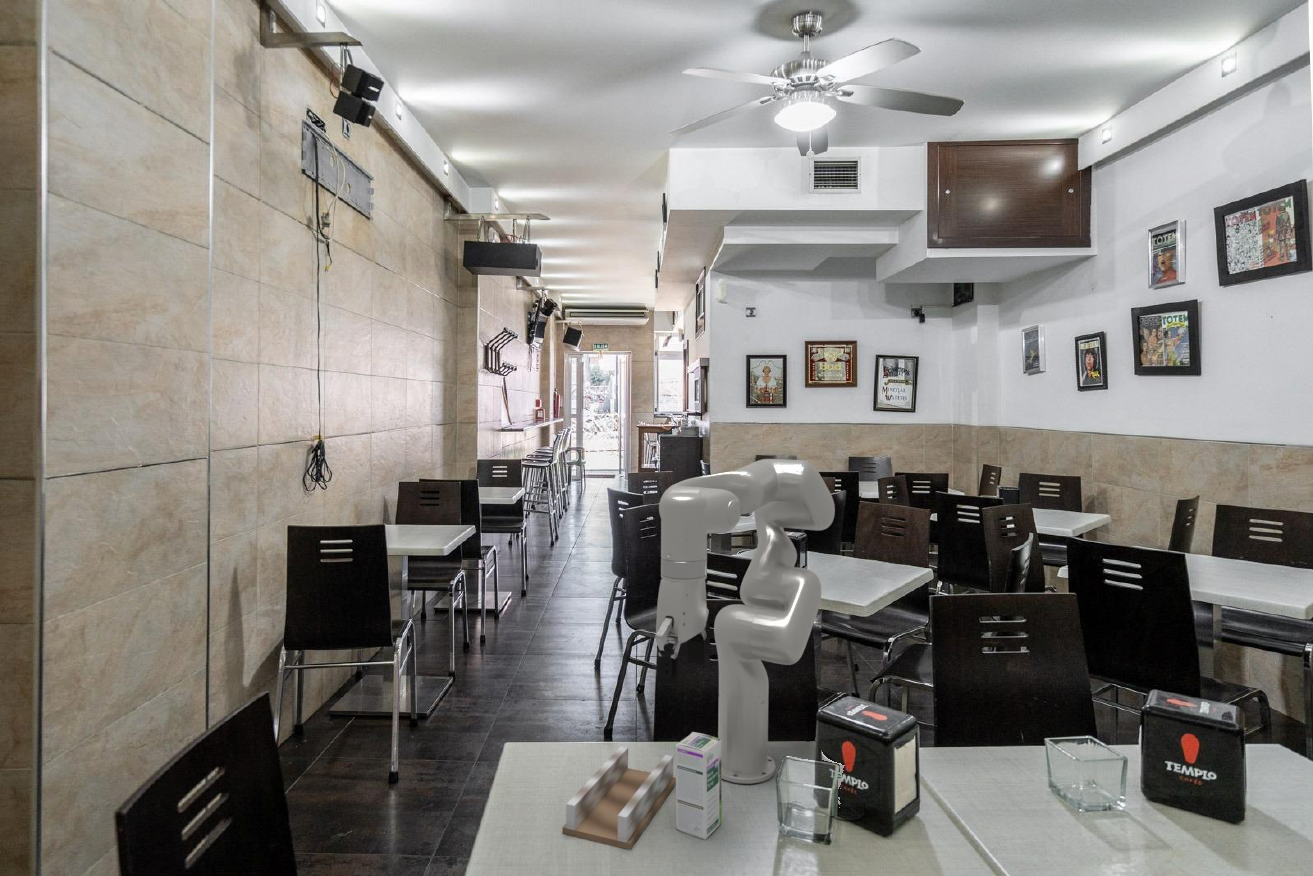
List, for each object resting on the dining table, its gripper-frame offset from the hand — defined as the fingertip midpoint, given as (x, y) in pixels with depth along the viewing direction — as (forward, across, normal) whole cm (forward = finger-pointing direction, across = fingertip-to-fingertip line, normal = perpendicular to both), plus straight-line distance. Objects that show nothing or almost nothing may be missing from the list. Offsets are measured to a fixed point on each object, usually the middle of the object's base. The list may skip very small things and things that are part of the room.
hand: (683, 671), depth 118 cm
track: (+26, 0, -12) cm, 28 cm away
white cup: (+26, -18, +22) cm, 39 cm away
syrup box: (+26, -1, +2) cm, 26 cm away
